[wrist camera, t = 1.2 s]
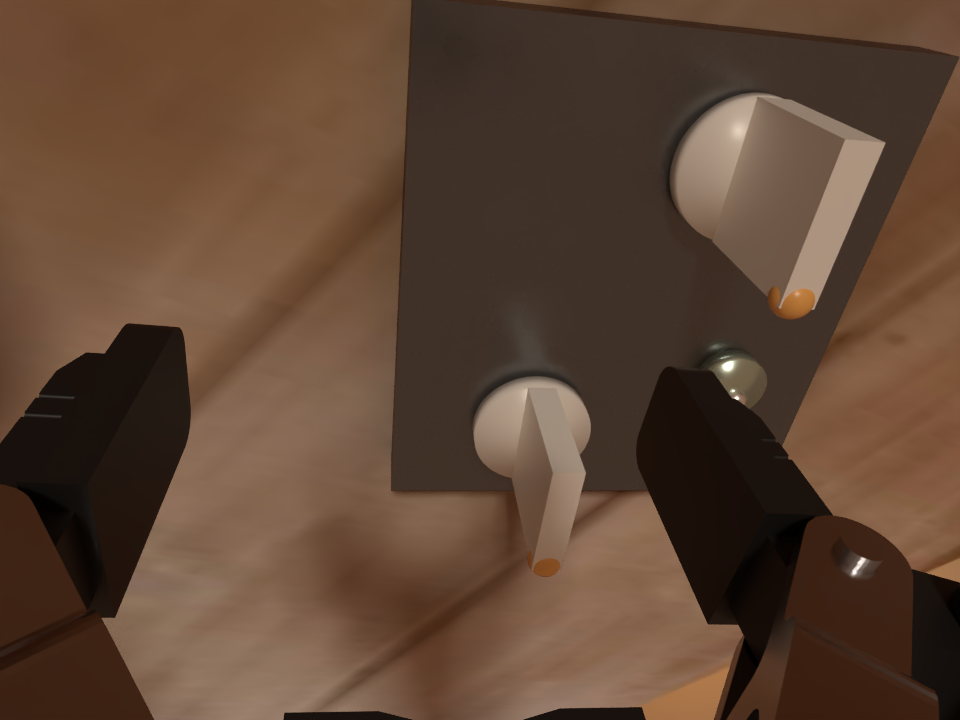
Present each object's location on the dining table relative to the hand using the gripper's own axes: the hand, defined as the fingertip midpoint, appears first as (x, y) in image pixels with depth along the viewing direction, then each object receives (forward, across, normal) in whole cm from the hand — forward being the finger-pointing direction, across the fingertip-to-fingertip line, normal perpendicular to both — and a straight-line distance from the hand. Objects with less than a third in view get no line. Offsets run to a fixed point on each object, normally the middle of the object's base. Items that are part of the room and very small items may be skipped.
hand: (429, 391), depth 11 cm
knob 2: (+18, -14, 0) cm, 22 cm away
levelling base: (+20, -11, +7) cm, 24 cm away
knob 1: (+18, -8, +14) cm, 24 cm away
